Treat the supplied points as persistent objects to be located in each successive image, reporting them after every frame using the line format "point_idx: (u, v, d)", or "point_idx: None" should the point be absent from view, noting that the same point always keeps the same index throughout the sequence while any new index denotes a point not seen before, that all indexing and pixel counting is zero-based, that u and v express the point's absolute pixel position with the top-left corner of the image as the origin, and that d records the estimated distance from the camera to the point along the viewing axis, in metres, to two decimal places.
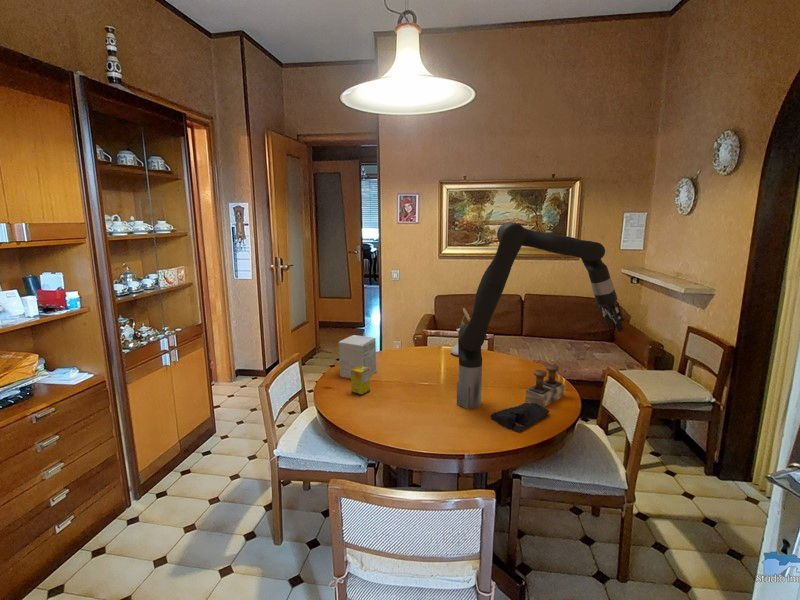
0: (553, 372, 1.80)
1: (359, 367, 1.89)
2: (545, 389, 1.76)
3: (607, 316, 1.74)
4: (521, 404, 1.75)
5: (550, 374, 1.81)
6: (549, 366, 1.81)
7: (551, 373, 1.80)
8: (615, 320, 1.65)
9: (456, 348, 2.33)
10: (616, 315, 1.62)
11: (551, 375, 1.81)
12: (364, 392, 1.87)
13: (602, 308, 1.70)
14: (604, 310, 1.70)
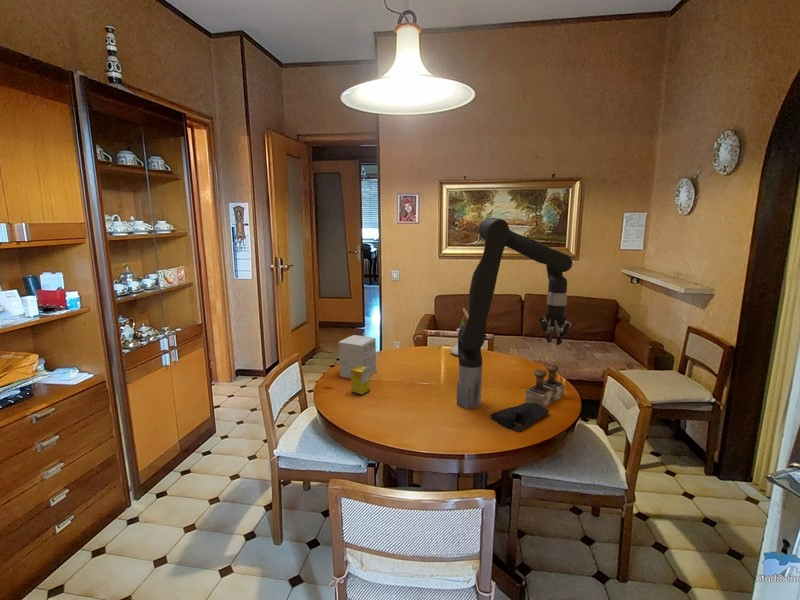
0: (553, 372, 1.80)
1: (359, 367, 1.89)
2: (545, 389, 1.76)
3: (550, 332, 1.79)
4: (521, 404, 1.75)
5: (550, 374, 1.81)
6: (549, 366, 1.81)
7: (551, 373, 1.80)
8: (560, 333, 1.75)
9: (456, 348, 2.33)
10: (567, 329, 1.72)
11: (551, 375, 1.81)
12: (364, 392, 1.87)
13: (549, 320, 1.77)
14: (551, 322, 1.77)
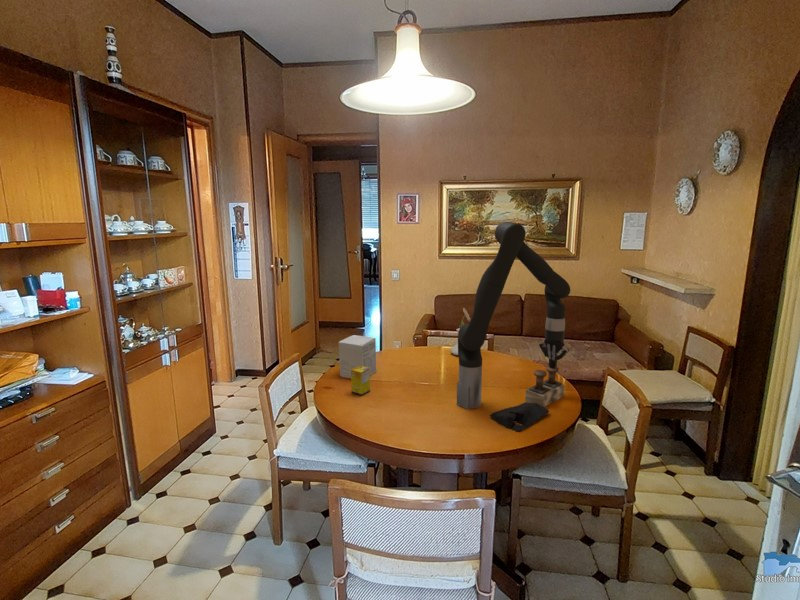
0: (553, 373, 1.80)
1: (359, 367, 1.89)
2: (545, 389, 1.76)
3: None
4: (521, 404, 1.75)
5: (550, 375, 1.81)
6: (549, 367, 1.81)
7: (551, 374, 1.81)
8: (555, 358, 1.78)
9: (456, 348, 2.33)
10: (562, 355, 1.76)
11: (551, 377, 1.81)
12: (364, 392, 1.87)
13: (548, 345, 1.79)
14: (550, 347, 1.79)
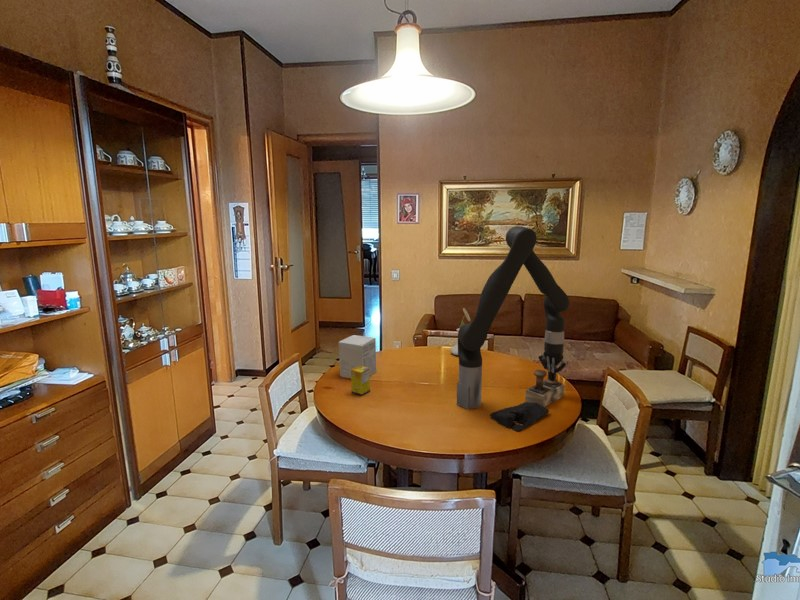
0: None
1: (359, 367, 1.89)
2: (545, 389, 1.76)
3: None
4: None
5: None
6: (548, 379, 1.82)
7: None
8: (554, 370, 1.80)
9: (456, 348, 2.33)
10: (562, 368, 1.77)
11: None
12: (364, 392, 1.87)
13: (547, 357, 1.80)
14: (549, 359, 1.80)
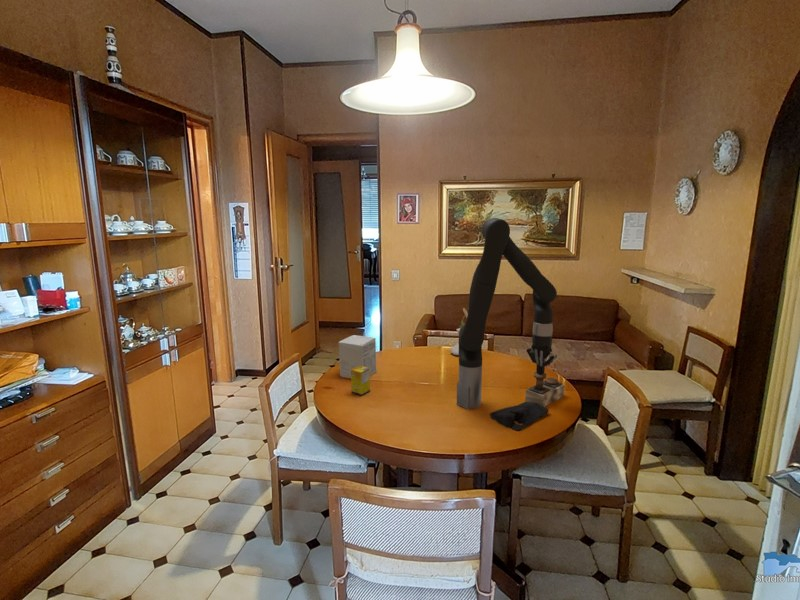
0: None
1: (359, 367, 1.89)
2: (545, 389, 1.76)
3: None
4: (521, 403, 1.76)
5: None
6: (548, 379, 1.82)
7: None
8: (542, 364, 1.73)
9: (456, 348, 2.33)
10: (550, 361, 1.70)
11: None
12: (364, 392, 1.87)
13: (535, 350, 1.73)
14: (537, 352, 1.73)
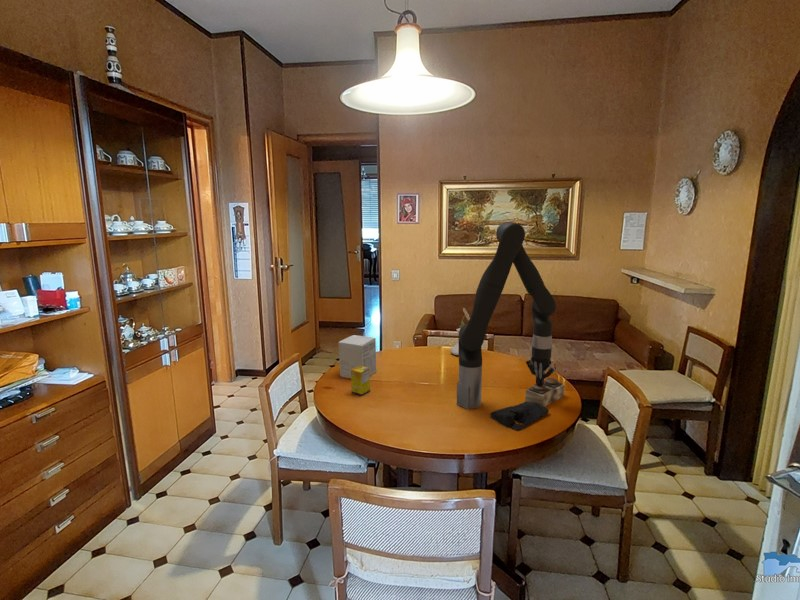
0: None
1: (359, 367, 1.89)
2: None
3: None
4: (521, 403, 1.76)
5: None
6: (548, 379, 1.82)
7: None
8: (542, 376, 1.74)
9: (456, 348, 2.33)
10: (549, 374, 1.71)
11: None
12: (364, 392, 1.87)
13: (535, 363, 1.74)
14: (537, 364, 1.74)
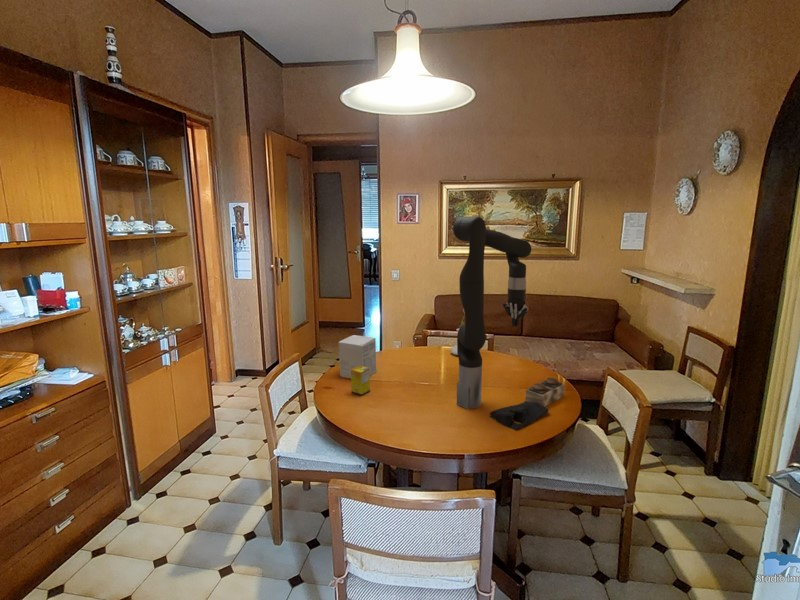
0: None
1: (359, 367, 1.89)
2: None
3: None
4: (521, 403, 1.76)
5: None
6: (548, 379, 1.82)
7: None
8: (517, 316, 1.86)
9: (456, 348, 2.33)
10: (523, 313, 1.83)
11: None
12: (364, 392, 1.87)
13: (510, 304, 1.87)
14: (512, 306, 1.87)
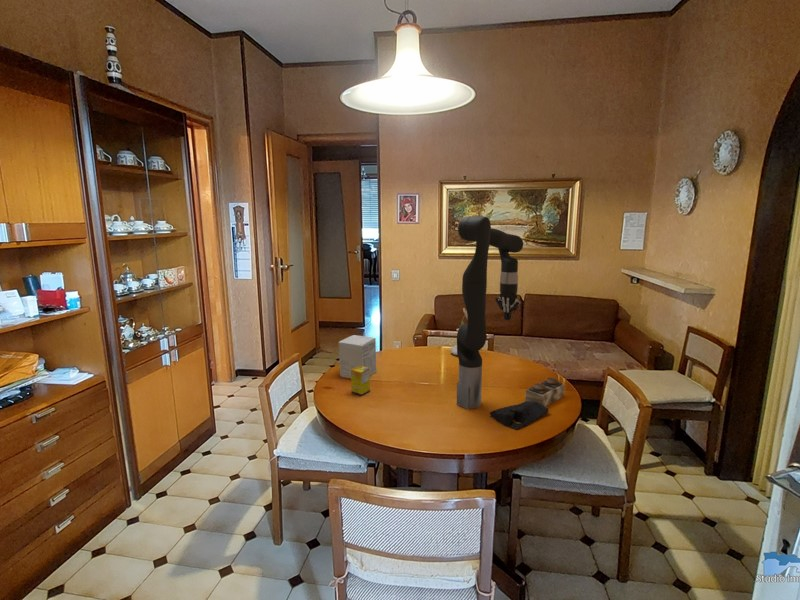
0: None
1: (359, 367, 1.89)
2: None
3: None
4: None
5: None
6: (548, 379, 1.82)
7: None
8: (509, 310, 1.91)
9: (456, 348, 2.33)
10: (515, 307, 1.88)
11: None
12: (364, 392, 1.87)
13: (502, 298, 1.91)
14: (504, 300, 1.91)
